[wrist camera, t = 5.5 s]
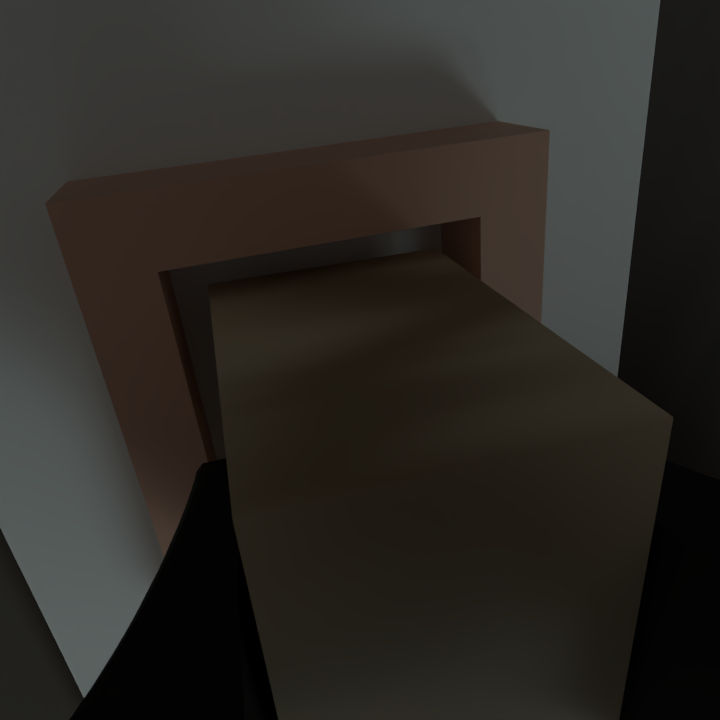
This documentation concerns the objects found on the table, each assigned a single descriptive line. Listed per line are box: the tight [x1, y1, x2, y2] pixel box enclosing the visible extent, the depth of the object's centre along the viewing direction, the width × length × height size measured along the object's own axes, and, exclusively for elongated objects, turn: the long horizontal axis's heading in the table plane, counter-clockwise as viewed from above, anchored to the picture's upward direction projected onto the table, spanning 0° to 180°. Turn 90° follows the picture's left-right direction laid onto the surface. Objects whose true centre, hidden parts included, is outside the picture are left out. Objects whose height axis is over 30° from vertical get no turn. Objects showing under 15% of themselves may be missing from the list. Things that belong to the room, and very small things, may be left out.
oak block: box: [208, 248, 674, 720], centre depth 9 cm, size 4×6×6 cm, turn 5°
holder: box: [0, 0, 660, 698], centre depth 12 cm, size 18×14×3 cm
